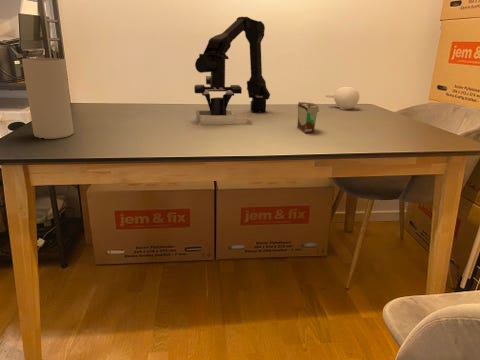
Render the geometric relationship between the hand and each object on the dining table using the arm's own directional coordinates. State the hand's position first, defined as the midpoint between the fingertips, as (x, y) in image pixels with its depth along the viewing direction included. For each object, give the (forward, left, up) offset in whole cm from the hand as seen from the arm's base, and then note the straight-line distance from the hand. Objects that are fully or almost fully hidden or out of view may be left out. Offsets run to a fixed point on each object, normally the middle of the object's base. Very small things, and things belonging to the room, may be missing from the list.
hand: (217, 110), depth 163 cm
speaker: (0, 0, -4) cm, 4 cm away
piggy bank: (-67, -30, -5) cm, 74 cm away
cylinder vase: (+59, +21, -5) cm, 62 cm away
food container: (-33, +18, -5) cm, 38 cm away
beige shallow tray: (-2, 0, -4) cm, 5 cm away
